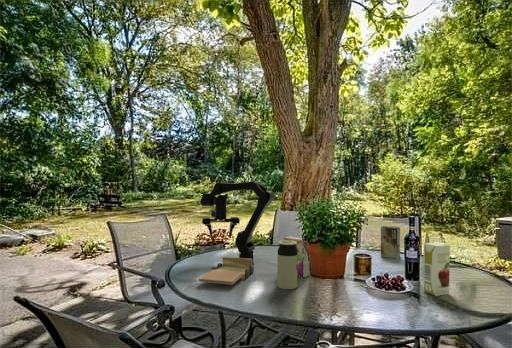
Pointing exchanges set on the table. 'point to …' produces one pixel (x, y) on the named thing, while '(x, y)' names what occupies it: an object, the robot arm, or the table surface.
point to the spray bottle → (300, 257)
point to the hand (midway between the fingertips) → (220, 237)
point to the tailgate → (221, 277)
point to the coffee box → (390, 242)
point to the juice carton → (436, 268)
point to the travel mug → (287, 265)
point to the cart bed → (236, 266)
